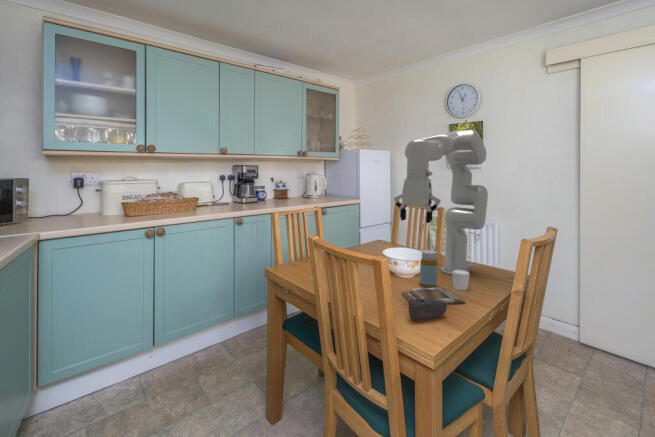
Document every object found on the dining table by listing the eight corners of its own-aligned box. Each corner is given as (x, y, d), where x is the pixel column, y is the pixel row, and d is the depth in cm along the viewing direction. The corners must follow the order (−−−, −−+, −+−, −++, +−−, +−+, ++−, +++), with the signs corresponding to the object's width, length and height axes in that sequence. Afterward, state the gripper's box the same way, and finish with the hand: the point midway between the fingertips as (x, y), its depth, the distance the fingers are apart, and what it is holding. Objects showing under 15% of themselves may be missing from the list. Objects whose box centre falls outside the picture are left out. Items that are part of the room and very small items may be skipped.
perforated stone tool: (442, 312, 110) (443, 294, 109) (450, 319, 105) (452, 300, 104) (402, 317, 107) (403, 297, 106) (409, 324, 102) (410, 304, 101)
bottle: (424, 288, 132) (426, 254, 130) (416, 282, 139) (418, 250, 137) (439, 287, 134) (441, 253, 131) (431, 281, 140) (432, 249, 138)
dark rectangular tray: (448, 291, 129) (448, 286, 129) (464, 303, 117) (465, 298, 117) (401, 294, 126) (402, 289, 126) (414, 307, 115) (414, 302, 114)
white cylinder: (472, 289, 131) (473, 273, 130) (458, 291, 129) (460, 275, 128) (461, 284, 137) (461, 268, 136) (447, 285, 135) (448, 270, 134)
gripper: (444, 174, 112) (442, 222, 114) (399, 174, 122) (398, 217, 125) (438, 175, 106) (435, 225, 109) (391, 174, 116) (389, 220, 119)
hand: (415, 221), depth 117 cm, fingers open, 9 cm apart
